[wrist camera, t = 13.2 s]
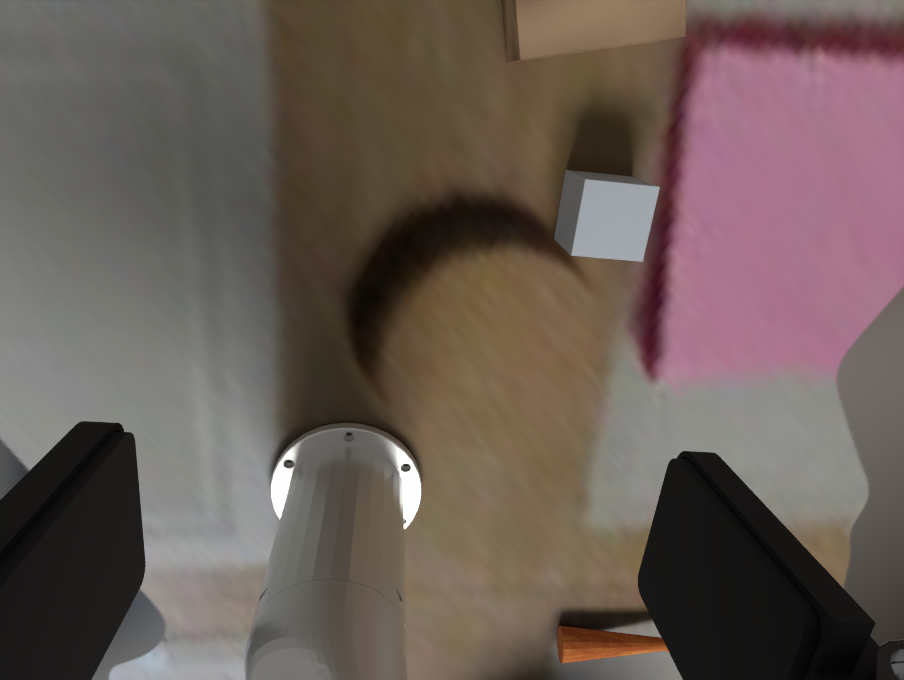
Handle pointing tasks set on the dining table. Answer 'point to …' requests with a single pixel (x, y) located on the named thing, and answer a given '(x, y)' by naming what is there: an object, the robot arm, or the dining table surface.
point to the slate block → (605, 215)
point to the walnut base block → (587, 25)
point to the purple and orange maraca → (602, 644)
